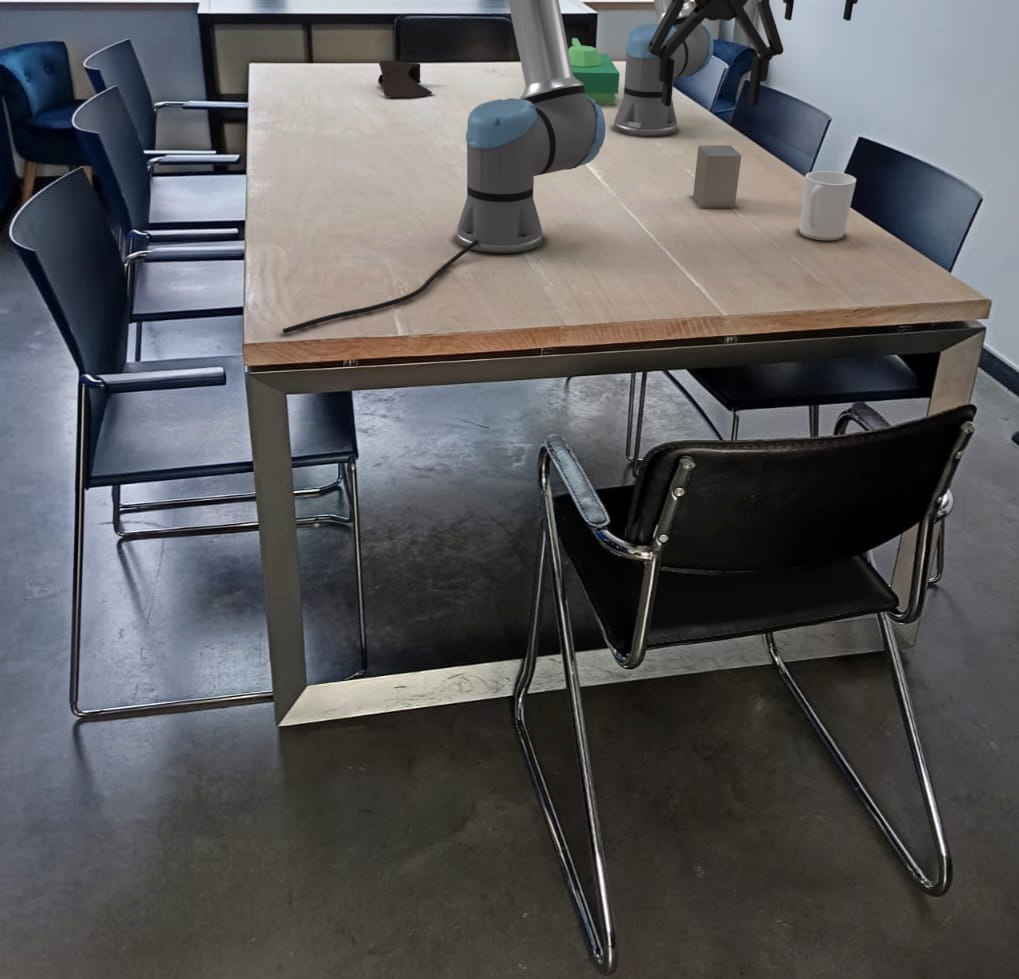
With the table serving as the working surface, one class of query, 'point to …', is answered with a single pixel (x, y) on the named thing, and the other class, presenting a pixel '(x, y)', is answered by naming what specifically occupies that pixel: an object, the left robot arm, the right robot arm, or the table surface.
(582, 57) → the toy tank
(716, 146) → the brick
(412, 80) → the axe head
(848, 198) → the mug
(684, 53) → the right robot arm
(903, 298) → the table surface
